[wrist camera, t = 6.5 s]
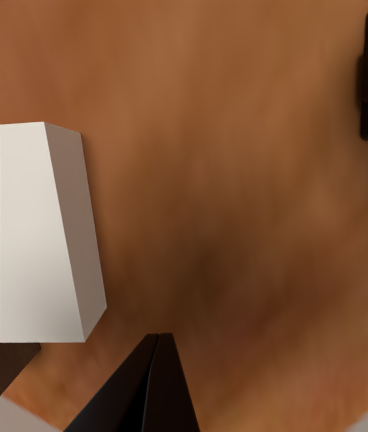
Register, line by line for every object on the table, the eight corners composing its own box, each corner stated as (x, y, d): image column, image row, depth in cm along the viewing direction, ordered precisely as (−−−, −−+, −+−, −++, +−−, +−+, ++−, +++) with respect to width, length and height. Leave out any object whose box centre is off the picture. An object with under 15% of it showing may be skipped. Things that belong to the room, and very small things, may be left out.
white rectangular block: (83, 133, 13) (43, 121, 10) (108, 304, 16) (84, 342, 12) (-8, 140, 13) (-77, 130, 10) (32, 305, 16) (-12, 342, 13)
